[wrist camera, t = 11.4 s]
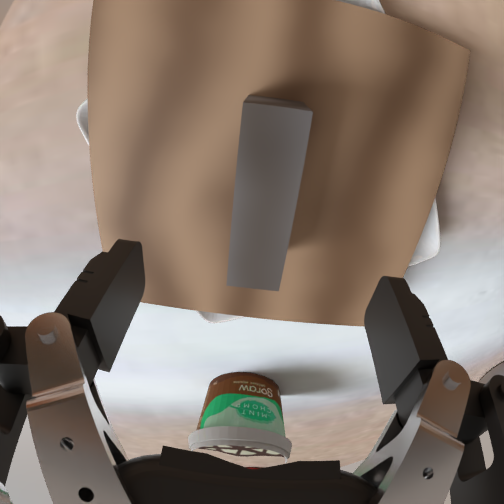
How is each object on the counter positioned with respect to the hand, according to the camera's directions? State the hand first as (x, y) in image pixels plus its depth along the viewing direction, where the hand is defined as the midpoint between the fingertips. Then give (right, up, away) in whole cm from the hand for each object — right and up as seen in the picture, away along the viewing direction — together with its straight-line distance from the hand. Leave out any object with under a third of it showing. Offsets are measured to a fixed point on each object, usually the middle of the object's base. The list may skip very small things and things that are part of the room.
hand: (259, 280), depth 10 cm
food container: (-1, -15, +26) cm, 30 cm away
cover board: (+1, +6, +9) cm, 11 cm away
